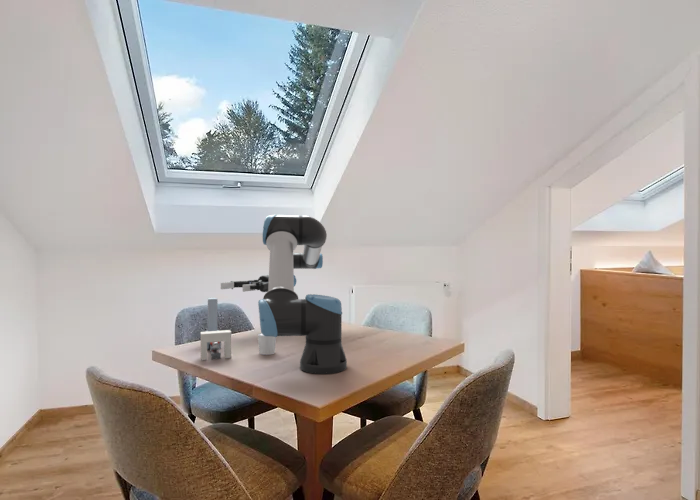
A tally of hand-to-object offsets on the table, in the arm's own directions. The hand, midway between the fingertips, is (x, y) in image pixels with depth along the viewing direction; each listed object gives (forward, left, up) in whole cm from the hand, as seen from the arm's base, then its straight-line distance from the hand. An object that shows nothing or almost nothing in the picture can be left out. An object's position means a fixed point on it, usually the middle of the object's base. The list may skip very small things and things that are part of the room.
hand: (231, 287), depth 181 cm
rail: (-18, +8, -22) cm, 29 cm away
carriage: (-9, +8, -22) cm, 25 cm away
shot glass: (-27, -10, -22) cm, 36 cm away
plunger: (-25, +8, -19) cm, 33 cm away
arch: (-28, +8, -22) cm, 36 cm away
